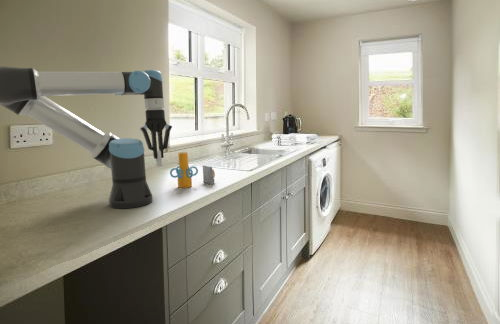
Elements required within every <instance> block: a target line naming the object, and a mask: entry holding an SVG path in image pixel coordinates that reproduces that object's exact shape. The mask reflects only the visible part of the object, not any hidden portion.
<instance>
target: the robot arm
mask: <svg viewBox="0 0 500 324" xmlns="http://www.w3.org/2000/svg"><path fill="white" fill-rule="evenodd" d="M87 95H89V96H91V95H116V96H134V95H135V96H137V95H140V96H142V95H143V97H144V98H143V99H144V108H145V109H146V110H145V123H144V125H143V126H140V127H139V130H140V132H141V133H143V137H144V140H145V142H146V145H147V148H148V150H149V151H152V153H153V159H155V163H156V167H158V168H159V167H163V162H162V161H163V160H162V159H164V150H166V149H168V146H169V140H170V133H171V130H172V129H173V126H172V125H170V124H168V123H167V121H166V115H165V110H164V109H165V105H164V102H165V101H164V91H163V78H162V72H161V71H159V70H157V69H156V70H155V69H145V70H143V71H142V70H134V71H38V70H36V69H35V68H33V67H29V68H28V67H14V66H3V65H2V66H0V106H2V107H4V108H5V109H7V110H9V111H10V112H11V113H14V114H16V115H17V116H24V115H25V116H28V117H29V118H31V119H34V120H35V121H37V122H39V123H41V124H42V125H43V126H44V127H45V126H46V127H47V128H49V129H51V130H53V131H54V132H56V133H58V134H59V135H61V136H62V137H64V138H66V139H68V140H70V141H71V142H73V143H75V144H76V145H78V146H80V147H82V148H83V149H85V150H86V151H88V152H90V155H91V157H92V159H94V160H96V161H98V162H99V163H100V164H103V165H104V166H105V167H107V168H108V169H111V178H112V179H111V181H112V186H111V189H110V194H109V198H108V203H109V204H108V205H109V207H110V208H113V209H130V208H131V209H132V208H138V207H143V206H147V205H150V204H151V203H152V202H153V200H154V199H153V194H152V191H151V189H150V186H149V185H148V181H147V175H146V174H147V173H146V163H145V162H146V161H145V147H144V142H143V141H142V140H140V139H138V138H130V137H129V138H126V137H124V138H123V137H122V138H121V137H118V136H117V135H115V134H114V133H112V132H109V131H108V132H103V131H102V130H100V129H98V128H96V127H94V126H93V125H91V124H90V123H88V122H87V121H86V120H84V119H83V118H81V117H79V116H77V115H76V114H74V113H73V112H71V111H69V110H68V109H66V108H65V107H63V106H61V105H60V104H58V103H57V102H55V101H53V100H51V99H50V98H49V97H56V96H57V97H58V96H59V97H61V96H63V97H65V96H87ZM164 129H165V131H164ZM148 130H149V132H150V135H151V139H150V136H149V133H148ZM163 131H164V139H163ZM157 144H158V145H157Z"/></svg>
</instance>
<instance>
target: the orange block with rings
mask: <svg viewBox="0 0 500 324" xmlns="http://www.w3.org/2000/svg"><path fill="white" fill-rule="evenodd" d="M177 158H178V166H176V167H173V168H172V169H170V172H169V175H170V176H171V178H175V179H176V178H177V186H178V188H180V189H185V188H190V187H192V185H193V184H192V183H193V182H192V177H194V176H196V175H198V173H199V170H198V168H197V166H194V165H192V166H189V153H188V151H187V152H186V151H182V152H178V157H177ZM193 169H195V170H196V171H195V173H194V172H193ZM173 171H175V173H176V175H174V174H173Z"/></svg>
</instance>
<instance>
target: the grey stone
mask: <svg viewBox="0 0 500 324" xmlns="http://www.w3.org/2000/svg"><path fill="white" fill-rule="evenodd" d="M215 176H216V173H215V171H214V169H213V167H212V166H211V165H207V164H202V177H203V183H205V184H208V185H210V186H211V185H214V184H215Z"/></svg>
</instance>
